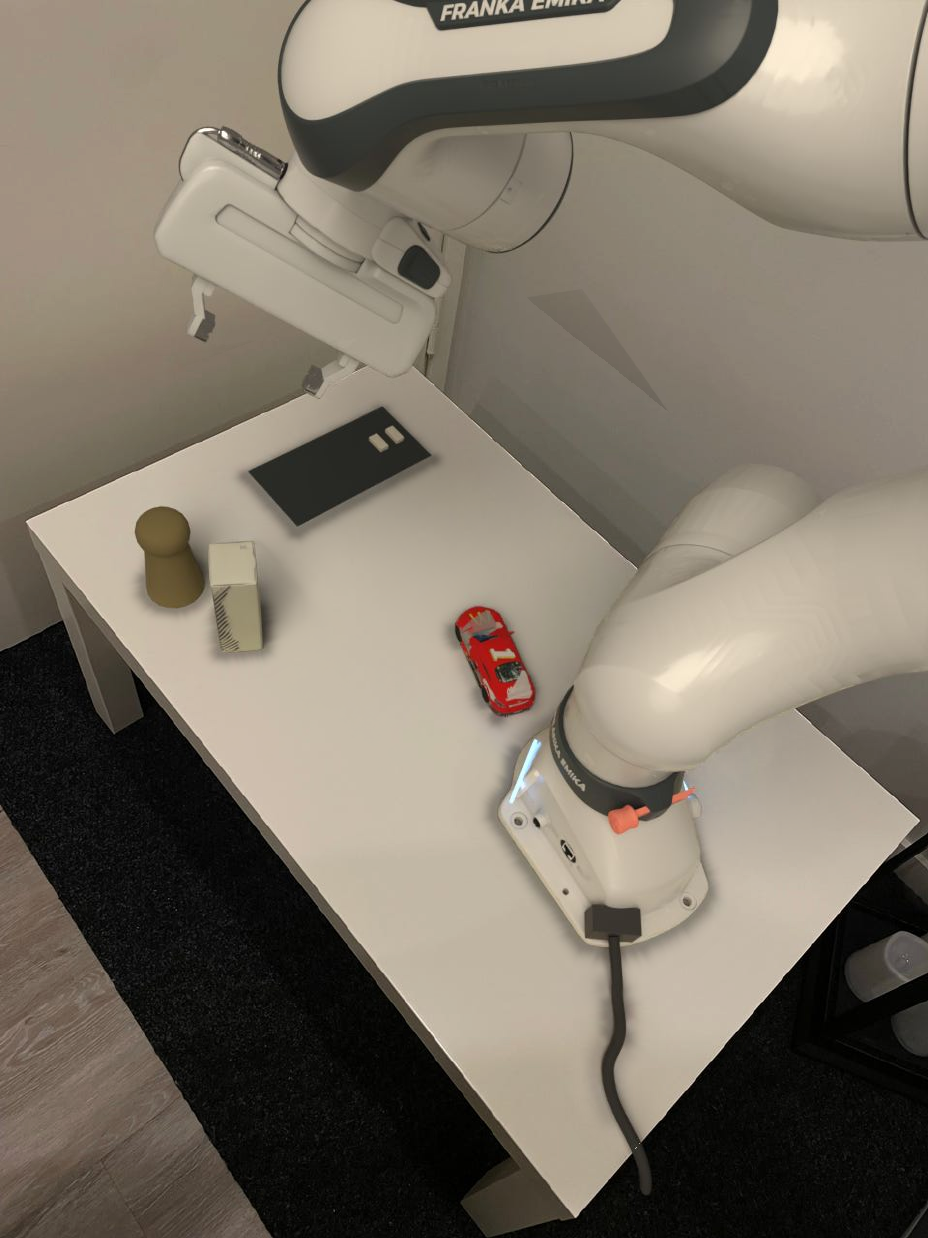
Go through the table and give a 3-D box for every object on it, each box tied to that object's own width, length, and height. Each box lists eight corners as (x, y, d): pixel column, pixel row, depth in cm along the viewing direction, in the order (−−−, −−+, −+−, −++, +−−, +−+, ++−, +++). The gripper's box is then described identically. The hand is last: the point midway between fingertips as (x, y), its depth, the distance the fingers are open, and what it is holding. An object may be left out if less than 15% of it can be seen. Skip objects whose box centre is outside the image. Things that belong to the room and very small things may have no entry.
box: (219, 613, 92) (206, 539, 82) (261, 610, 93) (254, 537, 82) (221, 656, 90) (208, 585, 79) (264, 652, 90) (258, 582, 80)
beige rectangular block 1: (380, 452, 106) (380, 449, 106) (368, 440, 107) (368, 436, 107) (388, 448, 107) (388, 445, 106) (376, 436, 108) (376, 433, 107)
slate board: (297, 532, 99) (297, 526, 99) (248, 476, 103) (247, 470, 102) (431, 460, 108) (432, 454, 107) (381, 411, 112) (382, 405, 111)
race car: (447, 620, 96) (452, 600, 93) (492, 609, 98) (499, 589, 94) (490, 724, 90) (496, 706, 86) (537, 711, 91) (545, 693, 88)
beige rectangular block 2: (396, 444, 108) (396, 440, 107) (384, 432, 108) (384, 428, 108) (404, 440, 108) (404, 437, 108) (392, 428, 109) (392, 425, 108)
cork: (210, 566, 95) (199, 502, 86) (196, 612, 92) (183, 550, 83) (155, 557, 95) (138, 492, 86) (138, 603, 91) (118, 539, 82)
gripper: (200, 122, 52) (114, 316, 59) (471, 292, 63) (372, 440, 69) (201, 96, 57) (121, 279, 63) (453, 259, 67) (363, 401, 74)
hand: (254, 364), depth 66 cm, fingers open, 8 cm apart
